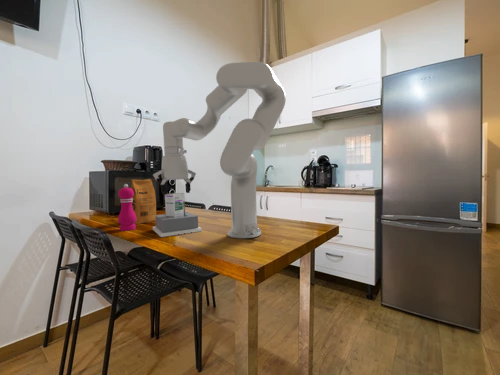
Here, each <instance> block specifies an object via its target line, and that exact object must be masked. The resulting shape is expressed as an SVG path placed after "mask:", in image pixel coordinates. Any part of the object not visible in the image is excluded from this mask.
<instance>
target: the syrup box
mask: <svg viewBox="0 0 500 375" xmlns="http://www.w3.org/2000/svg"><path fill="white" fill-rule="evenodd" d="M164 205H165V214H166V217H168V218H174V217H184V216H185V212H186V200H185V193H184V192H173V193H166V195H164Z"/></svg>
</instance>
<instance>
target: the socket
mask: <svg viewBox="0 0 500 375" xmlns="http://www.w3.org/2000/svg"><path fill="white" fill-rule="evenodd" d="M155 220H156V221H155V226H152V231H153V232H155V233H156V234H157V235H158V236H159V237H160V238H164V237H170V236H176V235H177V236H178V234H179V235H184V233H185V234H191V232H192V233H199V232H202V227H200V226H199V216H198V215H195V214H194V213H191V212H186V211H185V216H184V217H174V218H168V217H166V213H165V214H156V215H155Z"/></svg>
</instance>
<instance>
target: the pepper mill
mask: <svg viewBox="0 0 500 375" xmlns="http://www.w3.org/2000/svg"><path fill="white" fill-rule="evenodd" d="M117 193H118V194H117V195H118V198H120V203H121V204H120V205H121V209H120V212H119V215H118V218H117V222H118V223H119V231H121V232H126V231H132V230H136V228H137V226H136V225H137V224H134V223H135V222H136V220H137V219H136V215H135V213H134V211H133V208H132V202H133V199H132V197H133V195H134V191H133V190H132V189H131V187H129V185H128V184H127V183H124V184H123V187H122V188H120V189H119V190H118V192H117Z"/></svg>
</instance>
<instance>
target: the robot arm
mask: <svg viewBox="0 0 500 375" xmlns="http://www.w3.org/2000/svg"><path fill="white" fill-rule="evenodd" d="M215 78H216V79H215V80H216V83H217V84H218V85H217V86H216V87H215V88H214V89H213V90H212V91H211V92H210V93H209V94H207V95H206V97H205V102H206V105H207V108H206V112H205V114H204V115H203V116H202V117H201V118H200V119H199V120H197V121H195V120H192V119H189V118H187V117H186V118H185V117H182V118H178V119H177V120H174V121H165V122H164V123H163V125H162V132H163V136H162V137H163V149H164V155H162V159H161V170H159V171H156V172H154V173H153V174H152V177H154V179H155V181H156V182H157V183H158V184H159V185H160V190H161V191H160V192H161V193H162V195H163V196H165V195H166V194H167V185H166V184H165V183H166V182H167V181H174V180H175V181H176V180H183V181H184V182H185V186H184V187H185V193H186V194H189V193H190V191H191V184H192V182H193V181H194V180H195V177H196V175H197V173H196V172H194V171H192V170H191V169H190V170H189V168H188V162H187V158H186V155H184V154H187V150H186V149H185V148H184V141H183V139H188V140H191V141H201V140H203V139H204V138H205V137H207V136H208V135H209V134H210V133H211V132H213V131H214V130H215V128H216V127H217V125H218V123H219V121H220V119H221V117H222V115H223V114H224V113H225V112H226V111H227V110H228V109H230V108H231V107H232V106H233V105H234V104H235V103H236V102H237V101H239V99H241V98H242V97H243V96H245V94H246V93H247V91H248V90H253V91H254V92H255V93H256V94H257V95H258V96H259V97H260V98H261V100H262V101H261V103H260V104H259V105H258V107H257V108H256V109H255V112H254V114H253V116H252V118H244V119H242V120H241V121H239V122H238V123H237V124H236V125H235V126H234V128H233V129H232V132H231V134H230V136H229V139H228V140H227V142H226V145H225V147H224V148H223V151H222V153H221V155H220V158H219V164H220V166H219V167H220V169H221V171H223V173H225V175H228V176H230V177H231V180H230V181H231V182H230V207H231V208H230V211H231V217H230V218H231V229H230V230H228V232H227V236H228V237H229V238H233V239H251V238H252V239H253V238H257V237H260V236H261V235H262V231H261V228H259V226H258V220H257V176H258V175H257V174H258V163H257V159H256V157H255V155H254V154H253V153H254V151H259V150H262V149H263V148H264V147H265V146H266V145H267V142H268V140H269V139H270V137H271V134H272V133H273V130H274V129H275V127H276V124H277V122H278V121H279V118H280V116H281V115H282V113H283V111H284V109H285V105H286V101H287V100H286V97H287V96H286V92H285V89H284V87H283V86H282V84H281V83H280V81H279V79H278V78H277V76H276V75H275V73H274V71H273V70H272V67H270V66H269V64H267V63H265V62H261V61H246V62H245V61H244V62H243V61H240V62H230V63H226V64H224V65H222V66H221V67H220V68H219V69H218V70H217V72H216V77H215ZM160 175H161V179H160V177H159V176H160ZM189 175H191V176H190V178H189Z"/></svg>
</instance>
